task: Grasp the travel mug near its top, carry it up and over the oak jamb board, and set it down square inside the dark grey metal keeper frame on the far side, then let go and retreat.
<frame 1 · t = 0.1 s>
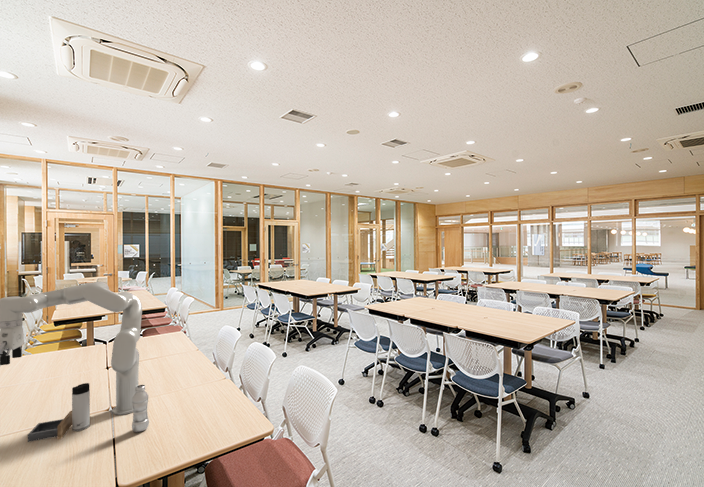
hand: (11, 360, 150), 31 cm above the table, fingers open, 9 cm apart
travel mug: (81, 428, 151), on the table
jamb board: (65, 431, 149), on the table
keeper: (48, 433, 147), on the table
plastic bottle: (140, 430, 149), on the table
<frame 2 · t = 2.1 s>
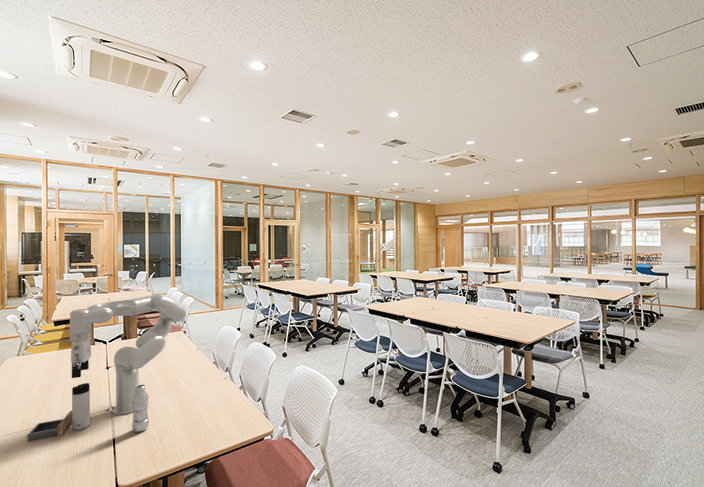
hand: (80, 373, 151), 25 cm above the table, fingers open, 9 cm apart
nothing on the table moved.
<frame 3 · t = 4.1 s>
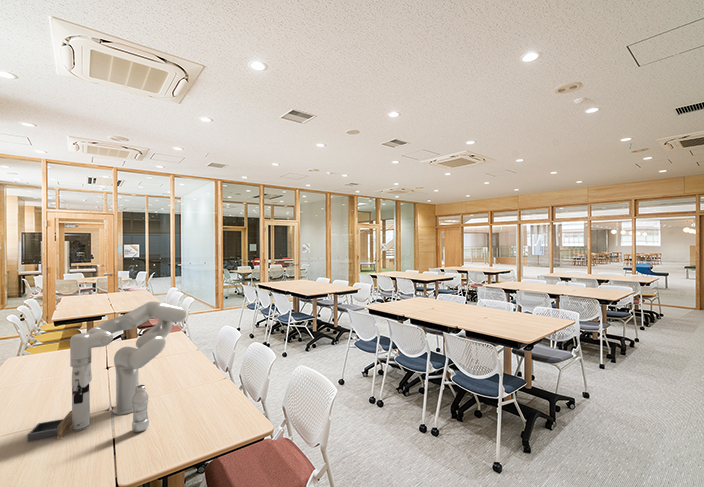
hand: (81, 399, 151), 13 cm above the table, fingers closed on travel mug, 6 cm apart
travel mug: (81, 428, 151), on the table, touching gripper
everything else where it was.
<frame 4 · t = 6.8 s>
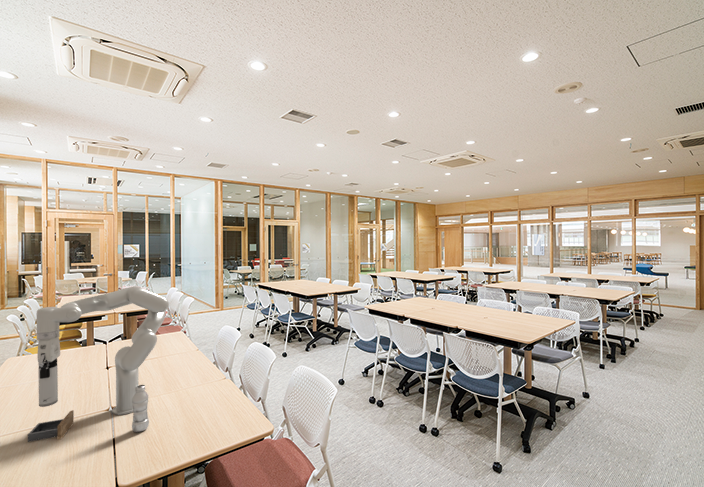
hand: (48, 374, 147), 26 cm above the table, fingers closed on travel mug, 6 cm apart
travel mug: (48, 404, 147), point 13 cm above the table, touching gripper
everything else where it was.
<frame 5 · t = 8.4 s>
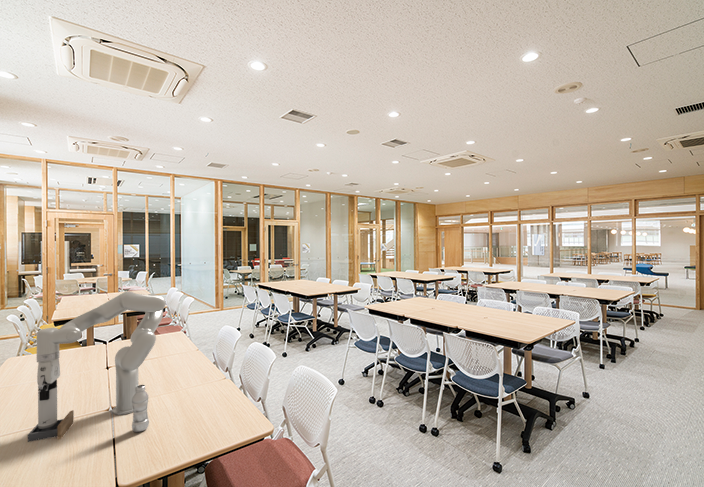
hand: (48, 396, 147), 17 cm above the table, fingers closed on travel mug, 6 cm apart
travel mug: (48, 425, 147), point 3 cm above the table, touching gripper
everything else where it was.
when the fingers open (15 cm above the table, at t = 9.7 s): travel mug drops 1 cm, resting on keeper.
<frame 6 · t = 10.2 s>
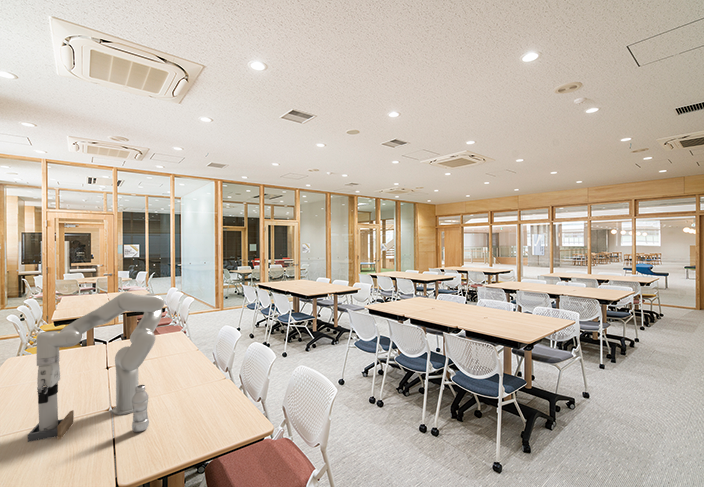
hand: (48, 398, 147), 16 cm above the table, fingers open, 9 cm apart
travel mug: (49, 432, 147), resting on keeper
everything else where it was.
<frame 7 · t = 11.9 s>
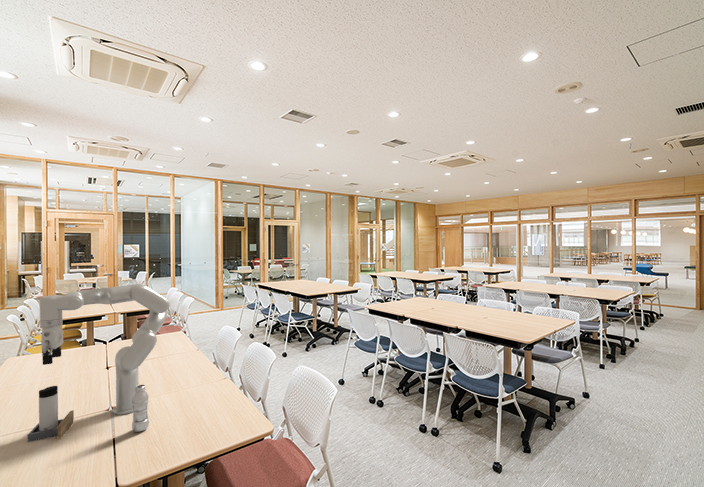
hand: (52, 360, 149), 32 cm above the table, fingers open, 9 cm apart
nothing on the table moved.
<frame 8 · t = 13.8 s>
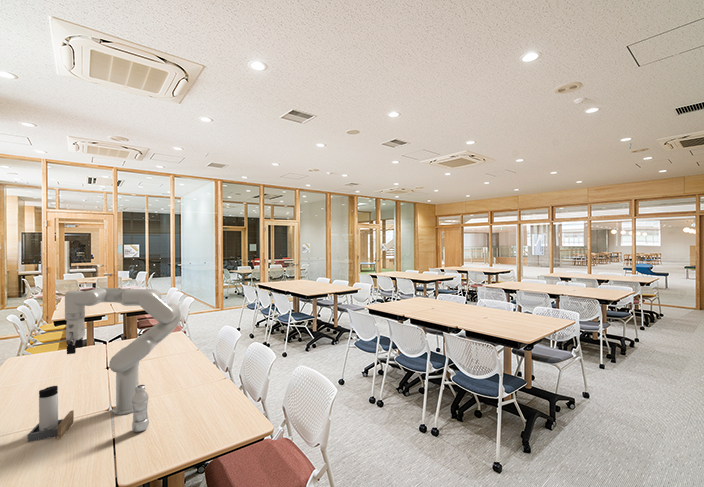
hand: (75, 350, 161), 32 cm above the table, fingers open, 9 cm apart
nothing on the table moved.
at the end: travel mug 0.2 cm off-centre on the keeper, point 0.4 cm above the keeper's base; travel mug tilted 0°; the gripper is holding nothing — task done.
